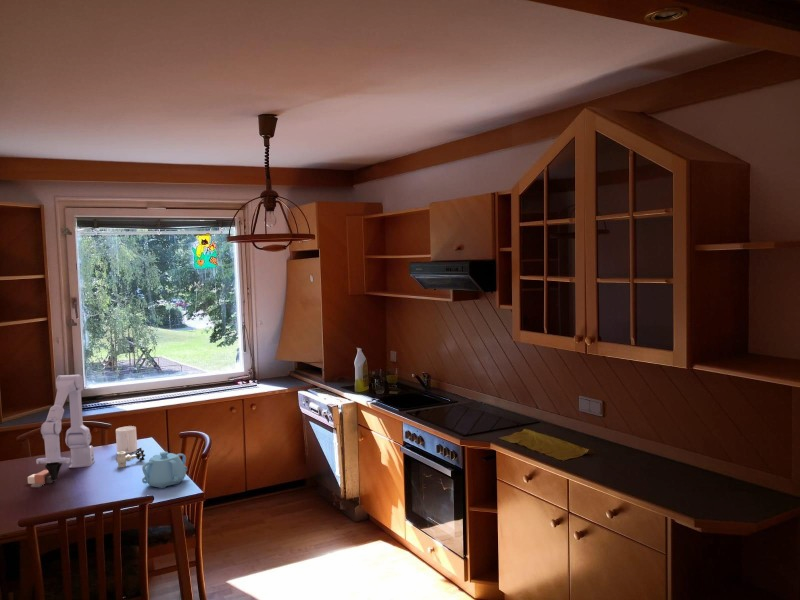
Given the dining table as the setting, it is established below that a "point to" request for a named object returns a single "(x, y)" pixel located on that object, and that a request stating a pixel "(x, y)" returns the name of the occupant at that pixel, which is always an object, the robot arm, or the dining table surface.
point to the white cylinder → (126, 439)
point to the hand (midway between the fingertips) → (54, 479)
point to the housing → (40, 478)
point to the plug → (32, 479)
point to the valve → (129, 457)
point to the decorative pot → (164, 470)
